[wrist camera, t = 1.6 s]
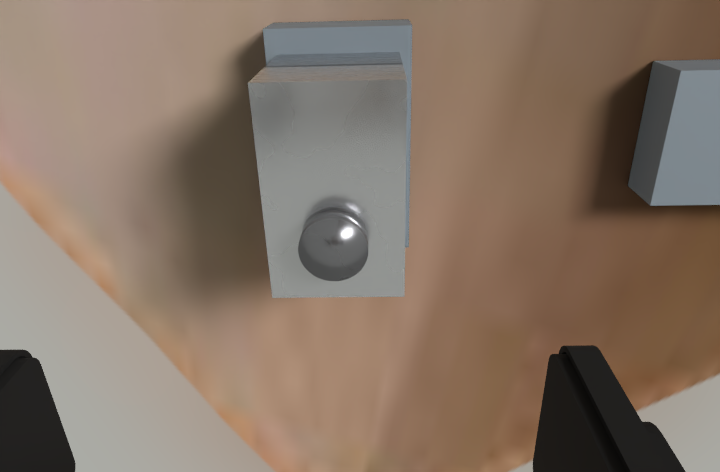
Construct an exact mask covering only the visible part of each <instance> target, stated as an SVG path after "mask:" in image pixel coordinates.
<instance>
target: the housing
mask: <svg viewBox="0 0 720 472" xmlns="http://www.w3.org/2000/svg"><path fill="white" fill-rule="evenodd" d="M248 89H249V98H250V107H251V115H252V124H253V133H254V142H255V150H256V159H257V168H258V177H259V185H260V194H261V203H262V212H263V220H264V229H265V238H266V247H267V255H268V264H269V273H270V282H271V290H272V298H294V297H404V286H405V204H406V123H407V77H406V74H405V70H404V67H403V63H402V59H401V56H400V52H368V53H325V54H282V55H277V56H275V57H274V58H273V59H272V60H271V61H270V62H269V63H268V64H267V65H266V66H265V67H264V68H263V69H262V70H261V71H260V72H259V73H258V74H257V75H255V76H254V77H253V78H252V79H251V80H250V81H249V82H248Z"/></svg>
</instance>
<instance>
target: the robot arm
mask: <svg viewBox="0 0 720 472" xmlns="http://www.w3.org/2000/svg"><path fill="white" fill-rule="evenodd" d="M0 472H75V460H74V457H73V454H72V451H71V449H70V446H69V443H68V440H67V437H66V435H65V432H64V429H63V426H62V423H61V421H60V417H59V415H58V412H57V409H56V406H55V403H54V401H53V398H52V395H51V392H50V389H49V386H48V383H47V381H46V378H45V376H44V372H43V369H42V366H41V364H40V362H39V360H38V359H36V358H33V357H32V356H31V354H30V353H29V352H28V351H26V350H0ZM533 472H685V470H684V469H683V467H682V465H681V464H680V462H679V460H678V459H677V457H676V456H675V454H674V453H673V451H672V449H671V448H670V446H669V444H668V443H667V441H666V439H665V438H664V437H663V435H662V433H661V432H660V431H659V429H658V428H657V427H656V426H655V425H654V424H652V423H651V422H642V421H641V419H640V418H639V416H638V415H637V413H636V411H635V409H634V407H633V406H632V404H631V402H630V401H629V399H628V397H627V396H626V394H625V392H624V391H623V389H622V387H621V385H620V384H619V382H618V380H617V379H616V377H615V375H614V374H613V372H612V370H611V369H610V367H609V365H608V363H607V362H606V360H605V358H604V357H603V355H602V353H601V352H600V350H599V349H598V348H597V347H596V346H562V347H561V349H560V351H559V354H552V355H551V356H550V358H549V362H548V368H547V375H546V381H545V388H544V394H543V400H542V407H541V413H540V420H539V426H538V432H537V439H536V445H535V452H534V458H533Z"/></svg>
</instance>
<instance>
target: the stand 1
mask: <svg viewBox="0 0 720 472" xmlns="http://www.w3.org/2000/svg"><path fill="white" fill-rule="evenodd" d="M263 36H264V46H265V56H266V65H267V64H268V63H269V62H270V61H271V60H272V59H273V58H274V57H275V56H277V55H282V54H325V53H368V52H400V56H401V59H402V63H403V67H404V70H405V74H406V77H407V123H406V204H405V247H409V193H410V130H411V66H412V24H411V23H410V21H409V20H369V21H329V22H289V23H272V24H270V25H269V26H267V27H265V28H264V29H263Z"/></svg>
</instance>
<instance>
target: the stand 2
mask: <svg viewBox="0 0 720 472" xmlns="http://www.w3.org/2000/svg"><path fill="white" fill-rule="evenodd" d="M628 187H630V188H631V189H632V190H633V191H634V192H635V193H636V194H638V195H639V196H640V197H641V198H642V199H643V200H644V201H645V202H647V203H648V204H649V205H650V206H667V205H720V59H719V60H674V61H653V65H652V70H651V75H650V79H649V84H648V89H647V94H646V99H645V104H644V109H643V114H642V119H641V123H640V128H639V133H638V138H637V143H636V148H635V153H634V158H633V163H632V167H631V172H630V177H629V182H628Z"/></svg>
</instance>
